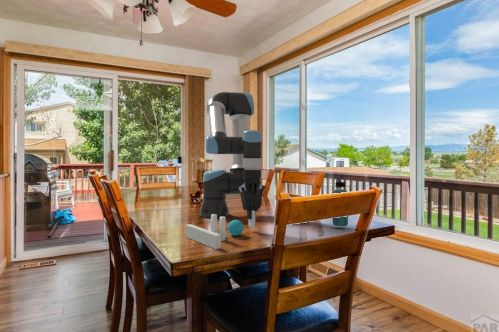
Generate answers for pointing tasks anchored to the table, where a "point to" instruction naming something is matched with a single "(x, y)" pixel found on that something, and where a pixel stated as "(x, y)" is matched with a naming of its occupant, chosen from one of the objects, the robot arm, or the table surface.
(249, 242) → the table surface
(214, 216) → the pin
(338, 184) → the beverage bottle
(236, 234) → the ball
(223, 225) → the pin
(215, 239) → the back stop
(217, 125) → the robot arm
